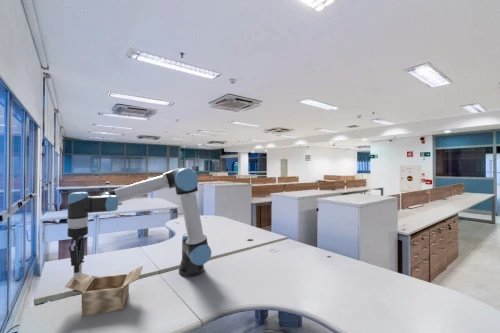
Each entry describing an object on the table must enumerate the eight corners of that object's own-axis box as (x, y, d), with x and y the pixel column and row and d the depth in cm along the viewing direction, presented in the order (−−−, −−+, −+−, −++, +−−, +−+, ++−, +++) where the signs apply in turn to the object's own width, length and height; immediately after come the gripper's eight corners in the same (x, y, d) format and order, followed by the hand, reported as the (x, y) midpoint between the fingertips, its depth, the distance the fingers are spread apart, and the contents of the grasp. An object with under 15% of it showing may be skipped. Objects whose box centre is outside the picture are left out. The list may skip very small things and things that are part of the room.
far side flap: (81, 292, 103) (64, 286, 101) (92, 277, 116) (77, 272, 114) (82, 291, 103) (64, 286, 101) (92, 276, 116) (77, 271, 114)
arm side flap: (129, 273, 121) (142, 266, 122) (123, 287, 108) (138, 278, 109) (128, 272, 120) (142, 265, 122) (123, 286, 108) (138, 278, 109)
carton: (128, 292, 121) (129, 273, 121) (122, 310, 107) (122, 288, 107) (92, 297, 117) (92, 277, 116) (81, 316, 102) (81, 293, 102)
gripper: (74, 223, 113) (73, 273, 113) (61, 231, 100) (61, 286, 101) (92, 222, 115) (92, 271, 115) (82, 230, 103) (81, 284, 103)
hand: (77, 278), depth 108 cm, fingers closed
